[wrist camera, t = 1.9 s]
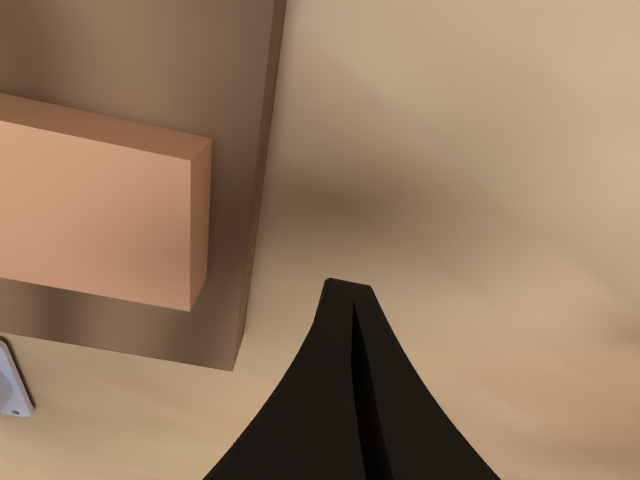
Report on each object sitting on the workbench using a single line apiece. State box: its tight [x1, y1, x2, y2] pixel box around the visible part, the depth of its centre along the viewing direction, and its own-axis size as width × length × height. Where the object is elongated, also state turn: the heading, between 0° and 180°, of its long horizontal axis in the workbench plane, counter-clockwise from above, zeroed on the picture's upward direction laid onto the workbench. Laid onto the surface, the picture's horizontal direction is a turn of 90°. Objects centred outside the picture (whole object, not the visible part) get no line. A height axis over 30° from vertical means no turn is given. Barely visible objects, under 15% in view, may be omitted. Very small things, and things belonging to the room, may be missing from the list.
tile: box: [0, 93, 212, 312], centre depth 12 cm, size 7×6×2 cm
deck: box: [0, 0, 287, 372], centre depth 13 cm, size 16×20×2 cm
